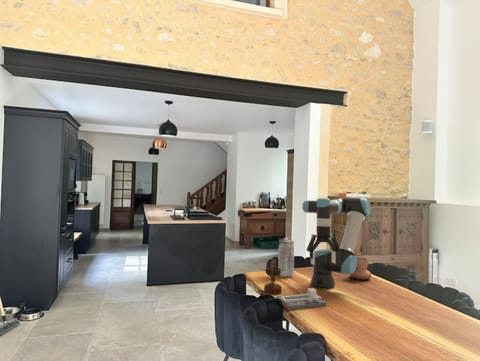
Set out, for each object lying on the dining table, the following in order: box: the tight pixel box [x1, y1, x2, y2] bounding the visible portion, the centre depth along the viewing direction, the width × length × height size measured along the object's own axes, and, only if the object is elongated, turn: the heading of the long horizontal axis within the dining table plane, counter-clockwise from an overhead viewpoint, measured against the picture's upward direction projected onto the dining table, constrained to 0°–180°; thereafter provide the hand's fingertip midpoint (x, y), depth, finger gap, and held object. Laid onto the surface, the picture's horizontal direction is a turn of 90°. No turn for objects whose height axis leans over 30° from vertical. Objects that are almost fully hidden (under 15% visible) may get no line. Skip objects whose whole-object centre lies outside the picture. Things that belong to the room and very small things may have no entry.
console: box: [275, 292, 327, 311], centre depth 172 cm, size 22×16×4 cm
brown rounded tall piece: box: [263, 258, 283, 296], centre depth 191 cm, size 15×11×20 cm
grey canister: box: [277, 237, 295, 278], centre depth 226 cm, size 9×10×27 cm
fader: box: [307, 287, 317, 298], centre depth 174 cm, size 3×4×5 cm
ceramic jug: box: [349, 256, 372, 281], centre depth 222 cm, size 18×14×14 cm
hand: (323, 263), depth 177 cm, fingers open, 13 cm apart
